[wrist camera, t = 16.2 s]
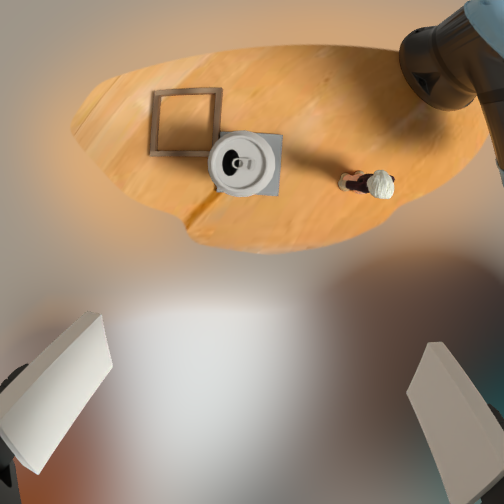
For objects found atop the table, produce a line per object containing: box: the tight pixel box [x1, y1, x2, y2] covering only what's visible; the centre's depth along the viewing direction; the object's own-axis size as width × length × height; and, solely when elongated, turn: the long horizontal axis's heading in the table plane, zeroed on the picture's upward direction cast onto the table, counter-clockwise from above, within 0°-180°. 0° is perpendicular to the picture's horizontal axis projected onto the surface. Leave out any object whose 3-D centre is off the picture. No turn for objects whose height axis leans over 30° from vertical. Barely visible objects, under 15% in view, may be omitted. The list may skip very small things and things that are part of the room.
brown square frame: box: [150, 88, 223, 157], centre depth 40 cm, size 11×11×1 cm
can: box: [208, 131, 275, 197], centre depth 35 cm, size 8×8×12 cm
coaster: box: [217, 132, 283, 196], centre depth 41 cm, size 9×9×1 cm
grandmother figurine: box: [338, 170, 395, 199], centre depth 35 cm, size 8×4×13 cm, turn 111°
